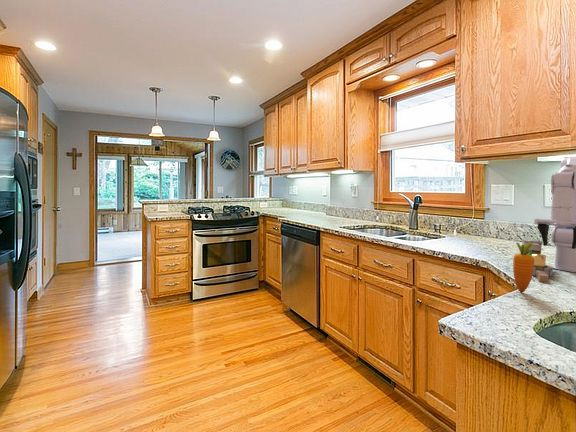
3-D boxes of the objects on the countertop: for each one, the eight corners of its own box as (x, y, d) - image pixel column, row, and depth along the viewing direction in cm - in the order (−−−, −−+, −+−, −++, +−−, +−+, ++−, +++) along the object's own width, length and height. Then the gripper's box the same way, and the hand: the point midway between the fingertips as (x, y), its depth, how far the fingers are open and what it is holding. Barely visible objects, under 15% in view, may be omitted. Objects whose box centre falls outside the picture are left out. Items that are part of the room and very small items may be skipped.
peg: (528, 273, 117) (529, 254, 117) (534, 272, 119) (535, 253, 119) (540, 276, 114) (542, 256, 113) (546, 274, 116) (548, 255, 115)
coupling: (516, 267, 126) (516, 259, 126) (566, 277, 113) (567, 268, 112) (495, 272, 119) (495, 264, 118) (546, 283, 105) (546, 274, 105)
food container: (520, 264, 132) (522, 239, 132) (540, 266, 129) (541, 241, 128) (518, 269, 123) (520, 243, 122) (538, 272, 119) (540, 245, 118)
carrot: (507, 289, 98) (510, 240, 96) (524, 290, 98) (527, 240, 96) (518, 295, 93) (521, 243, 92) (536, 295, 93) (539, 243, 91)
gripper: (533, 206, 114) (530, 245, 115) (588, 209, 103) (585, 251, 104) (538, 206, 119) (535, 243, 120) (592, 208, 108) (589, 248, 109)
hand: (559, 247), depth 112 cm, fingers open, 7 cm apart
